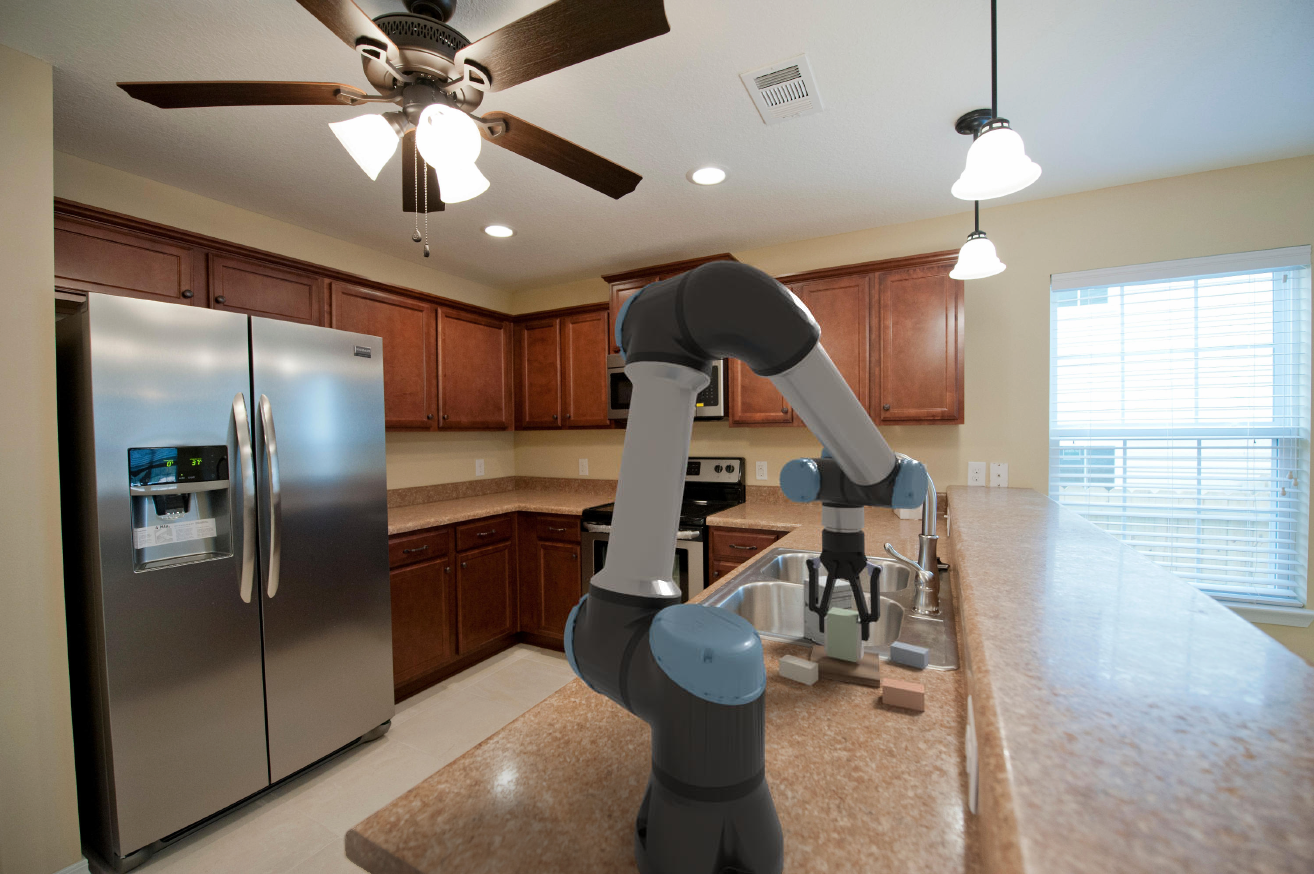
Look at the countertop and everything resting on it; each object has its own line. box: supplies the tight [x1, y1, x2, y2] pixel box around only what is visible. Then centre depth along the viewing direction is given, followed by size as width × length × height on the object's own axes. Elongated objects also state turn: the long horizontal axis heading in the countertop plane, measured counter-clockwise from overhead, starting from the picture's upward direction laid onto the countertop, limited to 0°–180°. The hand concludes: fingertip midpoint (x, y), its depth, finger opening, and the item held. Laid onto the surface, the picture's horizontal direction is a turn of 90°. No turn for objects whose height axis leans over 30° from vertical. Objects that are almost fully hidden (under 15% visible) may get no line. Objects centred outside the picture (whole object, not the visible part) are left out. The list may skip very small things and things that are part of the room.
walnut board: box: [809, 644, 881, 688], centre depth 95 cm, size 12×12×1 cm
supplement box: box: [803, 575, 854, 646], centre depth 109 cm, size 7×7×13 cm
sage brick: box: [827, 607, 860, 662], centre depth 95 cm, size 4×5×8 cm
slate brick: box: [889, 640, 930, 670], centre depth 97 cm, size 6×3×3 cm, turn 48°
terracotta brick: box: [881, 677, 926, 712], centre depth 82 cm, size 6×3×3 cm, turn 64°
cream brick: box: [778, 654, 819, 686], centre depth 91 cm, size 6×3×3 cm, turn 48°
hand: (844, 653), depth 95 cm, fingers closed on sage brick, 5 cm apart
